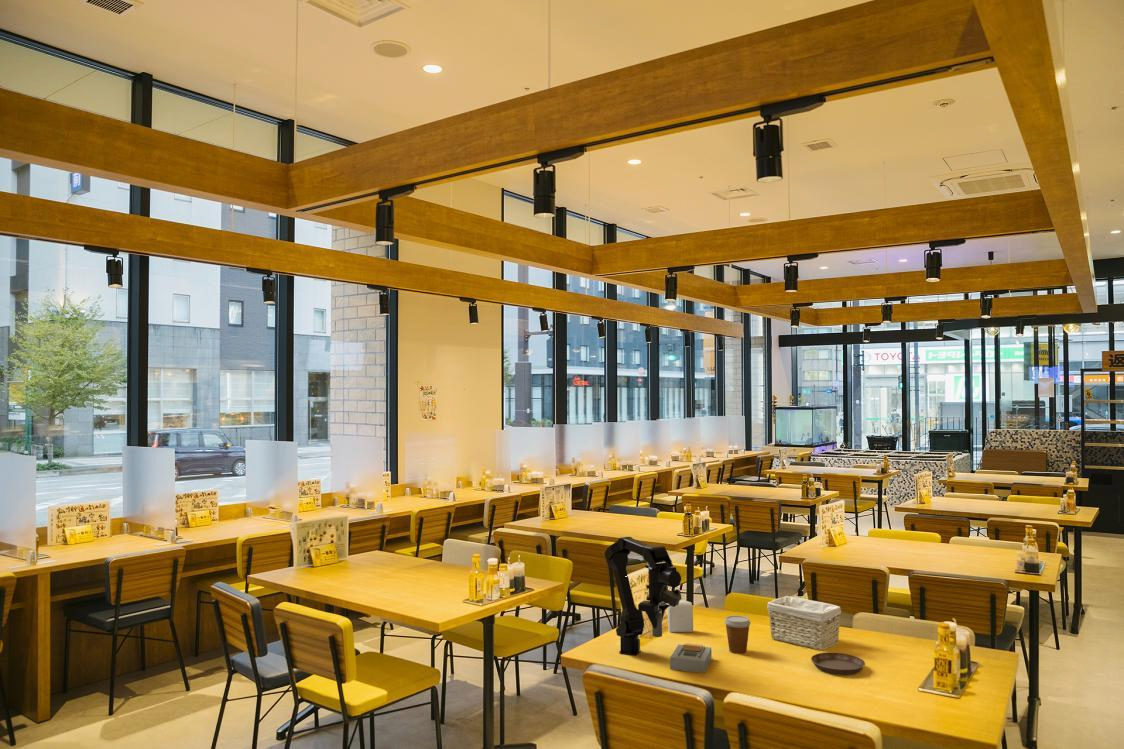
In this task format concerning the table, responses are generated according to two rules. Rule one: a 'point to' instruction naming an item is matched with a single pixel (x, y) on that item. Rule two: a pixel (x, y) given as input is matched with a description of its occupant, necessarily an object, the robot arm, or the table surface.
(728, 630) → the disposable coffee cup
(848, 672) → the plant saucer
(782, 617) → the storage basket
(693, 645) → the shutter
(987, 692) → the table surface
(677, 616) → the photo printer
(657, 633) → the grey cylinder
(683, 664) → the socket
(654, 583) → the robot arm
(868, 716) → the table surface
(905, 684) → the table surface
